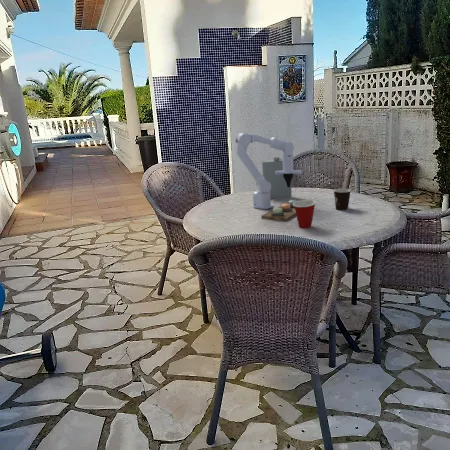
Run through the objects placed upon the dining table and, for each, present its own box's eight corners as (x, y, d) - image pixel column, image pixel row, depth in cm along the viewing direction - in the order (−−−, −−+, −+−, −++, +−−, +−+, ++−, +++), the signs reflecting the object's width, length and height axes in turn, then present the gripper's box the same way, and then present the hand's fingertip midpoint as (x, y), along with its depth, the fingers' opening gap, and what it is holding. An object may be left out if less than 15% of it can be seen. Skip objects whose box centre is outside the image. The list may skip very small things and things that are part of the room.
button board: (261, 218, 220) (261, 213, 219) (285, 206, 241) (285, 201, 240) (285, 221, 212) (285, 216, 211) (308, 208, 233) (308, 204, 232)
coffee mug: (350, 210, 223) (351, 192, 220) (333, 210, 225) (334, 192, 222) (349, 205, 234) (349, 187, 231) (333, 205, 236) (333, 187, 233)
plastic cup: (290, 224, 206) (290, 200, 203) (312, 222, 207) (312, 198, 204) (295, 231, 196) (295, 205, 193) (318, 229, 197) (318, 204, 193)
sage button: (271, 213, 218) (271, 209, 217) (275, 210, 222) (275, 207, 221) (279, 214, 215) (279, 210, 215) (283, 211, 219) (283, 208, 218)
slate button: (287, 205, 232) (287, 201, 231) (291, 203, 236) (291, 199, 235) (295, 205, 229) (295, 202, 229) (299, 203, 233) (299, 200, 232)
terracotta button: (279, 209, 225) (279, 205, 224) (283, 206, 229) (283, 203, 228) (287, 209, 222) (287, 206, 222) (291, 207, 226) (291, 204, 225)
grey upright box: (291, 195, 264) (290, 155, 257) (291, 197, 260) (290, 156, 253) (263, 196, 267) (262, 156, 260) (263, 198, 263) (261, 157, 256)
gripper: (273, 164, 235) (274, 188, 239) (299, 163, 230) (300, 188, 234) (276, 162, 242) (277, 185, 246) (301, 161, 237) (302, 185, 241)
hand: (288, 186), depth 240 cm, fingers closed
